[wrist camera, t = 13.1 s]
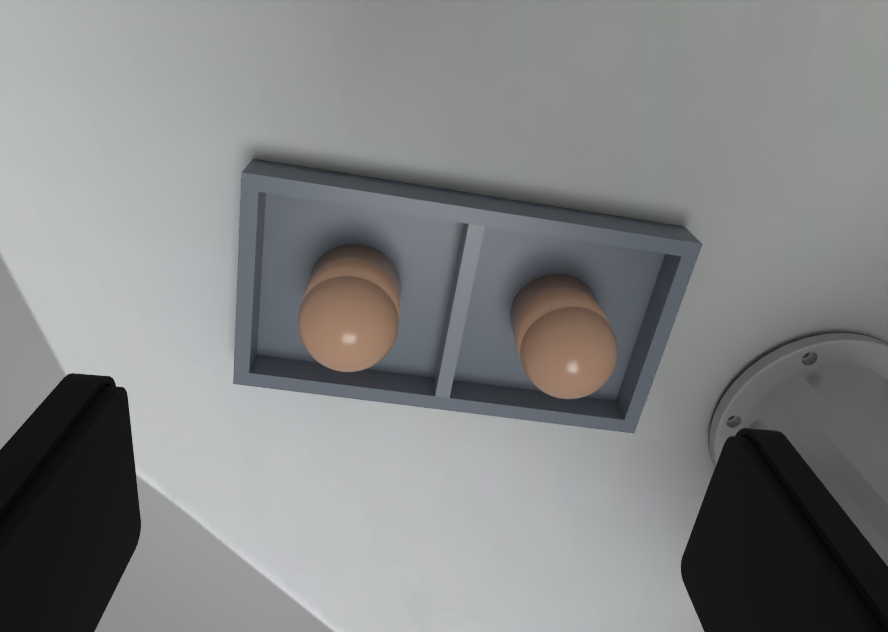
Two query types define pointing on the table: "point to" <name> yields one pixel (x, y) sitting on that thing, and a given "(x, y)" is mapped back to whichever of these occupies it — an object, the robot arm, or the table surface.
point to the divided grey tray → (451, 291)
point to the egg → (351, 308)
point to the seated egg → (563, 337)
